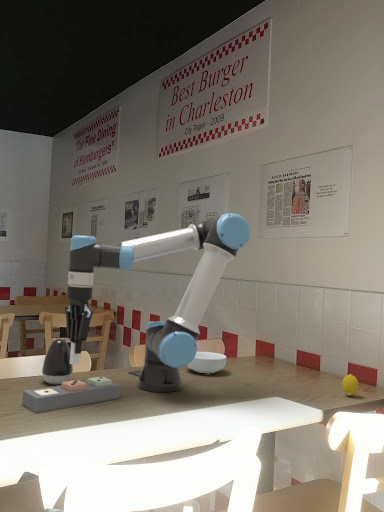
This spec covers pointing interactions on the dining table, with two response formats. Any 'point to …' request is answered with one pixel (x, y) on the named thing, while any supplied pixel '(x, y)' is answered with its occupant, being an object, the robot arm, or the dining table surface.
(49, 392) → the button one cream
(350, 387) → the lemon
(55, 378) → the black egg-shaped speaker
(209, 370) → the cereal bowl
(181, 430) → the dining table surface
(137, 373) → the smartphone
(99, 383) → the button two sage
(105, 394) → the button panel
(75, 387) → the button three terracotta
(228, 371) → the dining table surface
